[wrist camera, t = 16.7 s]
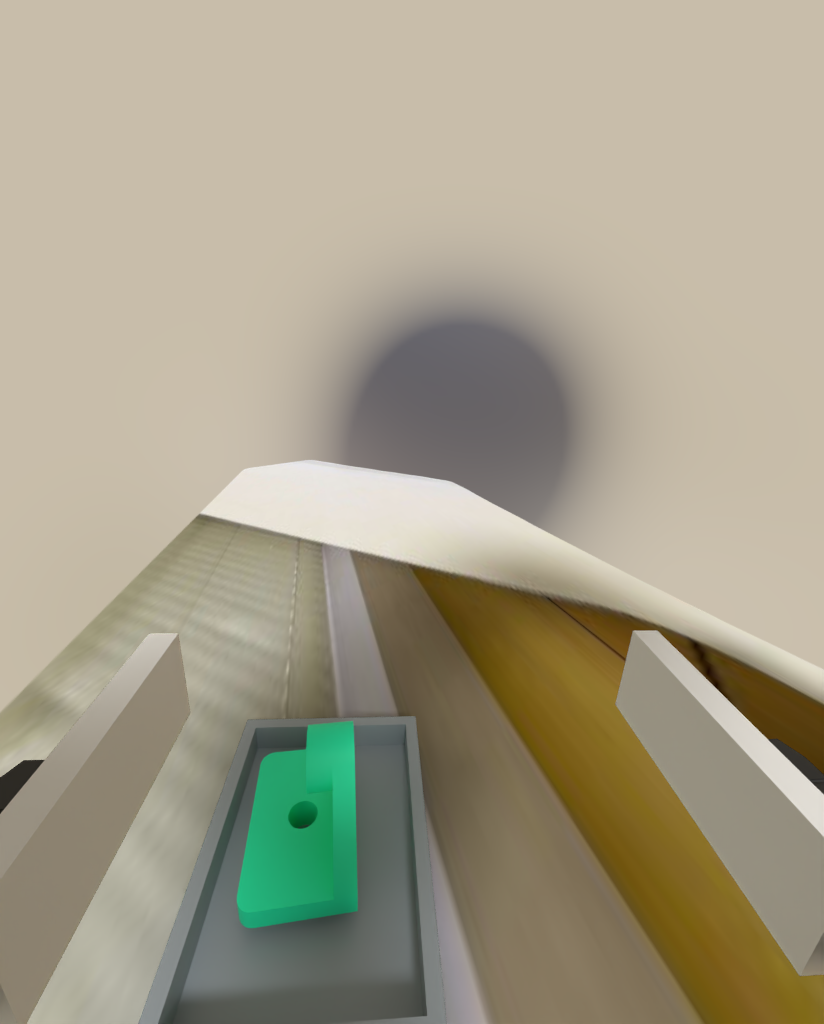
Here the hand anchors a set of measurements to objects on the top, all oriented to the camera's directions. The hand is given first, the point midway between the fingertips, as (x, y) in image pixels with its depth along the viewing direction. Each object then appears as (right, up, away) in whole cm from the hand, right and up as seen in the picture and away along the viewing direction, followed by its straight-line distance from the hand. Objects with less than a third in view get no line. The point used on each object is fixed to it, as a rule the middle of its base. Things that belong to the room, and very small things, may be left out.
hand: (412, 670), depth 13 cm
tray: (-7, -22, +21) cm, 31 cm away
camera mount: (-8, -21, +22) cm, 31 cm away
